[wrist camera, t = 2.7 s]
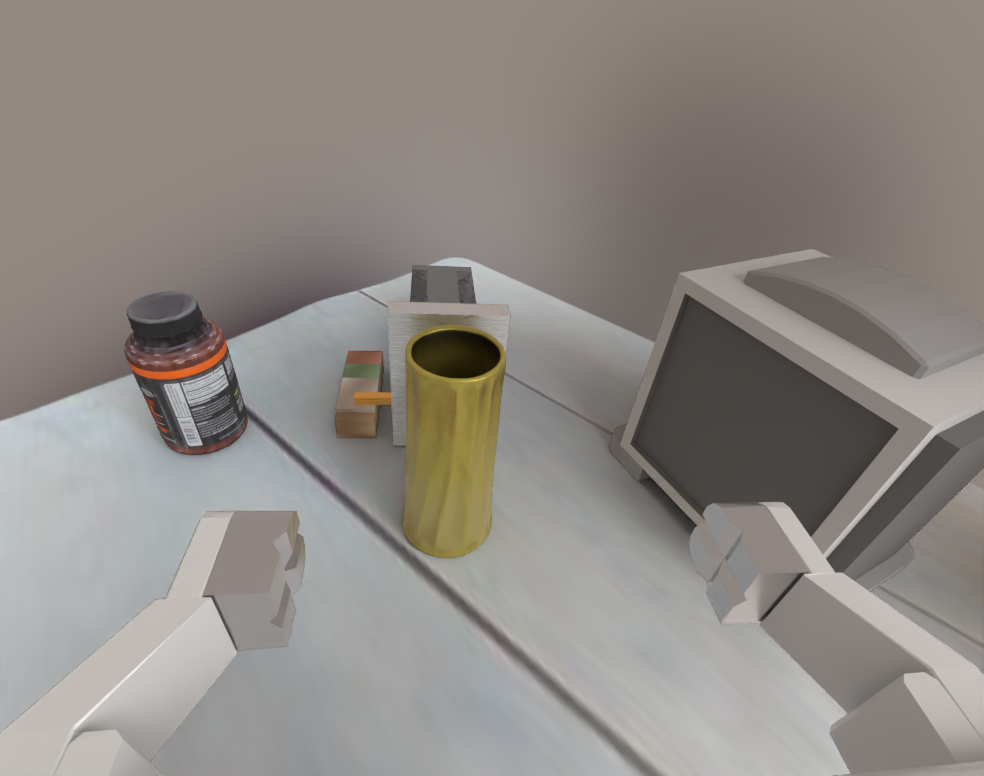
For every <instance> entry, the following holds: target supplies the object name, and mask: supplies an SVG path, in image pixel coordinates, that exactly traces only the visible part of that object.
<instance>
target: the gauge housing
mask: <svg viewBox="0 0 984 776" xmlns="http://www.w3.org/2000/svg"><path fill="white" fill-rule="evenodd" d="M410 302H428V303H461V304H476V300H475V293H474V286H473V279H472V272H471V267H450V266H425V265H413V266H412V282H411V298H410Z"/></svg>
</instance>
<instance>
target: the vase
mask: <svg viewBox="0 0 984 776" xmlns="http://www.w3.org/2000/svg"><path fill="white" fill-rule="evenodd" d="M405 366H406V460H405V504H404V510H403V529H404V532H405V534H406V536H407V538H408V539H409V541H410V542H411V543H412V544H413V545H414V546H415V547H416V548H417V549H419V550H421V551H422V552H425V553H427V554H430V555H433V556H436V557H441V558H453V557H459V556H463V555H465V554H468V553H470V552H471V551H473V550H475V549H476V548H477V547H478V546H480V545H481V544H482V543H483V542H484V540H485V539H486V538H487V536H488V534H489V531H490V528H491V521H492V515H491V500H492V487H493V470H494V462H495V453H496V443H497V433H498V423H499V412H500V402H501V394H502V386H503V379H504V373H505V366H506V354H505V350H504V348H503V346H502V345H501V343H500V342H499V341H498V340H497V339H496V338H494V337H493V336H492V335H490V334H489V333H487V332H484V331H482V330H479V329H476V328H472V327H466V326H460V325H442V326H436V327H432V328H429V329H426V330H423V331H421V332H419V333H417V334H416V335H414V336H413V337H412V338H411V339H410V340H409V342H408V343H407V346H406V350H405Z"/></svg>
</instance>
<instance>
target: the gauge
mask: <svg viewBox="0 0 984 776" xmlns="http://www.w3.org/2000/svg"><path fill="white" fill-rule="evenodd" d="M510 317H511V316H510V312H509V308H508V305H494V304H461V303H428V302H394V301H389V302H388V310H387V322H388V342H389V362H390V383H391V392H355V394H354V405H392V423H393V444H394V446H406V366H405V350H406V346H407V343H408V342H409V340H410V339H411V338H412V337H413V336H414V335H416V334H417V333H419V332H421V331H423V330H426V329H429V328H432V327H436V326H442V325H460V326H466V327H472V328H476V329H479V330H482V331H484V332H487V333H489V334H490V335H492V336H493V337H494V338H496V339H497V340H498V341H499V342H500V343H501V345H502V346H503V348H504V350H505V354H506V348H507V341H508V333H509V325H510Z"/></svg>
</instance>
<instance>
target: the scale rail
mask: <svg viewBox="0 0 984 776" xmlns="http://www.w3.org/2000/svg"><path fill="white" fill-rule="evenodd" d="M383 373H384V366H383V353H382V351H348V355H347V360H346V364H345V369H344V373H343V378H342V382H341V387H340V391H339V396H338V400H337V405H336V415H335V425H336V432H337V438H376V431H377V423H378V415H379V406H380V405H354V394H355V392H381V390H382V381H383Z"/></svg>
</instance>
